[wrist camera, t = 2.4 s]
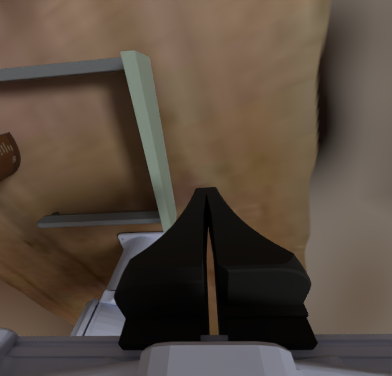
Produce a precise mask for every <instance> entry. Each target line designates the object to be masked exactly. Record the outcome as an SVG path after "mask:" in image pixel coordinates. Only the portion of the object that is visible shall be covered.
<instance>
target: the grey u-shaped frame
mask: <svg viewBox="0 0 392 376" xmlns="http://www.w3.org/2000/svg"><path fill="white" fill-rule="evenodd" d="M120 53H121V57H119V58H108V59H98V60H88V61H78V62H67V63H57V64H47V65H37V66H26V67H16V68H6V69H0V82H9V81H20V80H31V79H42V78H52V77H63V76H74V75H85V74H95V73H106V72H117V71H125V74H126V78H127V82H128V86H129V90H130V94H131V99H132V103H133V107H134V111H135V115H136V119H137V124H138V128H139V132H140V136H141V140H142V144H143V148H144V153H145V157H146V161H147V165H148V169H149V173H150V177H151V182H152V186H153V190H154V194H155V198H156V202H157V206H158V211H144V212H122V213H100V214H78V215H59V214H58V212H56V213H53V214H52V215H51V216H44V217H43V218H42V219H41V220H40V221H39V222H37V223H36V224H37V226H38V227H39V228H48V227H72V226H96V225H120V224H145V223H162V227H163V231H164V233H165V232H166V231H167V230H168V229H169V228H170V227H171V226H172V225H173V224H174V223H175V221H176V216H177V213H176V207H175V201H174V196H173V190H172V184H171V178H170V173H169V167H168V161H167V155H166V149H165V144H164V138H163V132H162V126H161V120H160V115H159V109H158V103H157V97H156V92H155V86H154V80H153V74H152V68H151V63H150V57H148V56H146V55H144V54H141V53H139V52H137V51H135V50H132V51H122V52H120Z"/></svg>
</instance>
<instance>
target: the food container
mask: <svg viewBox="0 0 392 376" xmlns="http://www.w3.org/2000/svg"><path fill="white" fill-rule="evenodd" d="M20 161H21V157H20V152H19V149H18V146H17V144H16V142H15V140H14V138H13V137H12V135H11V134H10V132H8V133H3V134H0V181H1V180H3V179H5V178H6V177H8V176H10V175H11V174H13V173H15V172H16V171H17V170H18V168H19V166H20Z"/></svg>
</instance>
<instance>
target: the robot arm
mask: <svg viewBox="0 0 392 376" xmlns="http://www.w3.org/2000/svg"><path fill="white" fill-rule="evenodd" d="M208 227H209V234H210V240H211V246H212V252H213V259H214V271H215V285H216V300H217V314H218V329H219V335H210V332H209V309H208V286H207V262H206V261H207V237H208ZM118 238H119V240H120V243H121V245H122V247H123V249H124V251H123V253H122V255H121V257H120V259H119V262H118V264H117V266H116V268H115V270H114V273H113V275H112V277H111V279H110V282H109V284H108V286H107V288H106V290H105V291H104V293H103V295H102V298H101V300H100V302H98V301H99V298H94V299H93V300H91V301H89V302H88V303H87V304H86V306H85V308H84V309H83V311H82V313H81V315H80V317H79V319H78V321H77V323H76V325H75V327H74V329H73V331H72V333H71V335H70V336H18V334H16V333H15V332H14V331H12V330H10V329H7V328H0V376H392V334H315V335H314V333H313V331H312V329H311V326H310V324H309V322H308V320H307V318H306V317H308V312H307V310H306V308H305V305H304V304H303V303H304V300H305V299H306V297H307V294H308V293H309V290H310V287H311V281H310V278H309V277H308V275H307V273H306V271H305V269H304V268H303V266H302V265H301V263H300V262H299V260H298V259H297V258H296V256H295V255H294V253H292V252H290V251H288V250H286V249H284V248H282V247H280V246H279V245H277V244H275V243H273V242H271V241H270V240H268V239H267V238H265V237H263V236H262V235H260V234H259V233H258V232H256V231H255V230H253V229H252V228H251V227H249V226H248V225H247V224H246V223H245V222H244V221H242V220H241V219H240V218H239V217H238V216H237V215H236V214H235V213H234V212H233V210H232V209H231V208H230V207H229V206H228V205H227V203H226V202H225V201H224V199H223V198H222V196H221V195H220V193H219V192H218V190H217V188H216V187H209V188H196V189H195V192H194V194H193V196H192V198H191V200H190V202H189V203H188V205H187V207H186V208H185V210H184V211H183V213H182V214H181V215H180V217H179V218H178V219H177V220H176V222H175V223H174V224H173V225H172V226H171V227H170V228H169V229H168V230H167V231H166V232H165V233H164V232H146V233H121V234H119V235H118Z"/></svg>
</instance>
